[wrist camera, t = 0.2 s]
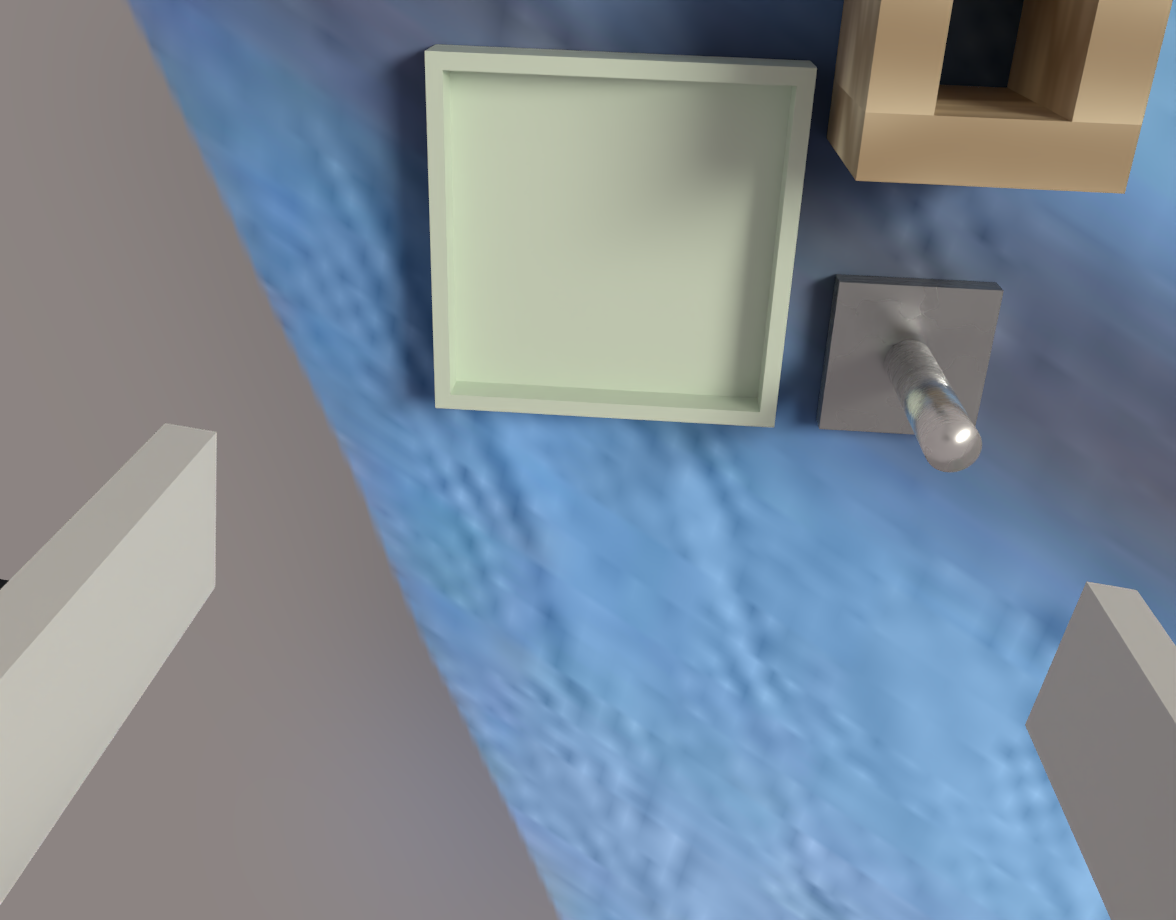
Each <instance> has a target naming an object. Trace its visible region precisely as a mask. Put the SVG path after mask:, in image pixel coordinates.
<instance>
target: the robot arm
mask: <svg viewBox="0 0 1176 920" xmlns="http://www.w3.org/2000/svg"><path fill="white" fill-rule="evenodd" d="M216 439H217V432H214V431H208V430H203V429H196V428H191V427H185V426H179V425H173V424H167V423H165V424H164V425H163V426H162V427H161V428H160V429H159V430H158V431H157V432H156V433H155V434H154V435H153V436H152V437H151V438H150V439H149V440H148V441H147V442H146V443H145V444H144V445H143V446H142V447H141V448H140V449H139V450H138V451H137V452H136V453H135V454H134V455H133V456H132V457H131V458H130V459H129V460H128V461H127V462H126V463H125V464H124V465H123V466H122V467H121V469H119V470H118V471H117V472H116V473H115V475H114V476H112V477H111V478H110V479H109V480H108V482H107V483H106V484H105V485H104V486H103V487H102V488H101V489H100V490H99V491H98V492H97V493H96V494H95V495H94V496H93V497H92V498H91V499H90V500H89V501H88V502H87V503H86V504H85V505H84V506H83V507H82V508H81V509H80V510H79V511H78V512H77V513H76V514H75V515H74V516H73V517H72V518H71V519H70V520H69V521H68V522H67V523H66V524H65V525H64V526H63V527H62V528H61V529H60V530H59V531H58V532H57V533H56V534H55V535H54V536H53V537H52V538H51V539H50V540H49V541H48V542H47V543H46V544H45V545H44V546H43V547H42V548H41V549H40V550H39V551H38V552H37V553H36V554H35V555H34V556H33V557H32V558H31V559H30V560H29V561H28V562H27V563H26V564H25V565H24V566H23V567H22V569H20V570H19V571H18V572H17V573H16V574H15V575H14V576H13V577H12V578H11V579H10V580H9V581H8V580H1V579H0V904H1V903H2V902H3V900H4V899H5V897H6V896H7V894H8V893H9V891H10V890H11V888H12V887H13V885H14V884H15V882H16V881H17V879H18V878H19V876H20V875H21V873H22V872H23V870H24V869H25V867H26V866H27V865H28V863H29V862H30V860H31V859H32V857H33V856H34V854H35V853H36V851H37V850H38V848H39V847H40V845H41V844H42V842H43V841H44V839H45V838H46V836H47V835H48V834H49V832H50V831H51V829H52V828H53V826H54V825H55V823H56V822H57V820H58V819H59V817H60V816H61V814H62V813H63V811H64V810H65V808H66V807H67V805H68V804H69V802H70V801H71V799H72V798H73V796H74V795H75V793H76V792H77V791H78V789H79V788H80V786H81V785H82V783H83V782H84V780H85V779H86V777H87V776H88V774H89V773H90V771H91V770H92V768H93V767H94V765H95V764H96V762H97V761H98V760H99V758H100V757H101V755H102V754H103V752H104V751H105V749H106V748H107V746H108V745H109V743H110V742H111V740H112V739H113V737H114V736H115V734H116V733H117V731H118V730H119V728H120V727H121V725H122V724H123V723H124V721H125V720H126V718H127V717H128V715H129V714H130V712H131V711H132V709H133V708H134V706H135V705H136V703H137V702H138V700H139V699H140V697H141V696H142V694H143V693H144V691H145V690H146V688H147V687H148V686H149V684H150V683H151V681H152V680H153V678H154V677H155V675H156V674H157V672H158V671H159V669H160V668H161V666H162V665H163V663H164V662H165V660H166V659H167V657H168V656H169V654H170V653H171V651H172V650H173V649H174V647H175V645H176V644H177V643H178V641H179V640H180V638H181V637H182V635H183V634H184V632H185V631H186V629H187V628H188V626H189V625H190V623H191V622H192V620H193V619H194V617H195V616H196V615H197V613H198V612H199V610H200V608H201V607H202V606H203V604H204V603H205V601H206V600H207V598H208V597H209V595H210V594H211V592H212V591H213V589H214V588H215V548H216V546H215V545H216V450H217V448H216V447H217V440H216ZM1025 726H1026V728H1027V730H1028V732H1029V735H1030V737H1031V739H1032V741H1033V744H1034V746H1035V748H1036V751H1037V753H1038V755H1039V757H1040V760H1041V762H1042V764H1043V766H1044V769H1045V771H1046V773H1047V775H1048V778H1049V780H1050V782H1051V785H1052V787H1053V789H1054V791H1055V794H1056V796H1057V798H1058V800H1059V803H1060V805H1061V807H1062V809H1063V812H1064V814H1065V816H1066V819H1067V821H1068V823H1069V825H1070V828H1071V830H1072V832H1073V834H1074V837H1075V839H1076V841H1077V843H1078V846H1079V848H1080V850H1081V853H1082V855H1083V857H1084V859H1085V862H1086V864H1087V866H1088V868H1089V871H1090V873H1091V875H1092V877H1093V880H1094V882H1095V884H1096V887H1097V889H1098V891H1099V893H1100V896H1101V898H1102V900H1103V902H1104V905H1105V907H1106V909H1107V911H1108V914H1109V916H1110V918H1111V920H1176V646H1175V644H1174V643H1173V642H1172V640H1171V639H1170V637H1169V636H1168V634H1167V633H1166V632H1165V630H1164V629H1163V627H1162V626H1161V624H1160V623H1159V621H1158V620H1157V619H1156V617H1155V616H1154V614H1153V613H1152V611H1151V610H1150V608H1149V607H1148V606H1147V604H1146V603H1145V601H1144V600H1143V598H1142V597H1141V596H1140V594H1139V593H1138V591H1137V590H1133V589H1127V588H1121V587H1115V586H1109V585H1103V584H1098V583H1092V582H1086V584H1085V586H1084V589H1083V591H1082V593H1081V596H1080V598H1079V600H1078V603H1077V605H1076V607H1075V610H1074V612H1073V614H1072V617H1071V619H1070V621H1069V624H1068V626H1067V628H1066V631H1065V633H1064V635H1063V638H1062V640H1061V642H1060V645H1059V647H1058V650H1057V652H1056V654H1055V657H1054V659H1053V661H1052V664H1051V666H1050V668H1049V671H1048V673H1047V675H1046V678H1045V680H1044V682H1043V685H1042V687H1041V689H1040V692H1039V694H1038V696H1037V699H1036V701H1035V703H1034V706H1033V708H1032V710H1031V713H1030V715H1029V717H1028V720H1027V722H1026V724H1025Z"/></svg>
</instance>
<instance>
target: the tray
mask: <svg viewBox="0 0 1176 920" xmlns="http://www.w3.org/2000/svg"><path fill="white" fill-rule="evenodd" d="M816 73H817V67H816V66H815V65H814V64H813V63H812V62H811V61H807V60H784V59H761V58H738V57H715V56H692V55H669V54H646V53H623V52H600V51H577V50H554V49H531V48H508V47H485V46H462V45H439V44H435V45H434V46H432V47H430V48H429V49H427V50H425V81H426V115H427V148H428V181H429V214H430V247H431V281H432V314H433V347H434V380H435V408H447V409H464V410H482V411H499V412H516V413H534V414H551V415H568V416H585V417H603V418H620V419H637V420H655V421H672V422H689V423H706V424H724V425H741V426H758V427H774V424H775V416H776V407H777V399H778V390H779V382H780V374H781V365H782V357H783V349H784V340H785V332H786V324H787V315H788V307H789V299H790V290H791V282H792V274H793V265H794V257H795V249H796V240H797V232H798V224H799V215H800V207H801V198H802V190H803V182H804V173H805V165H806V157H807V148H808V140H809V132H810V123H811V115H812V107H813V98H814V90H815V82H816Z"/></svg>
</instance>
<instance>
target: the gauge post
mask: <svg viewBox="0 0 1176 920" xmlns="http://www.w3.org/2000/svg"><path fill="white" fill-rule="evenodd" d="M1002 296H1003V290H1002V288H1001V287H1000V286H999V285H998V284H997V283H995V282H975V281H956V280H937V279H917V278H898V277H879V276H859V275H840V274H836V278H835V285H834V292H833V300H832V307H831V314H830V321H829V329H828V336H827V343H826V350H825V358H824V365H823V372H822V379H821V387H820V394H819V401H818V408H817V416H816V420H817V423H818V427H819V429H831V430H848V431H866V432H883V433H900V434H915V436H916V438H917V440H918V442H919V444H920V446H921V448H922V451H923V453H924V455H925V457H926V459H927V461H928V462H929V464H930V465H931V466H933V467H934V468H936V469H937V470H940V471H943V472H957V471H960V470H963V469H965V468H967V467H969V466H970V465H971V464H973V463H974V462H975V460H976V459H977V458H978V456H979V454H980V452H981V448H982V441H981V437H980V435H979V433H978V431H977V429H976V428H975V425H976V420H977V415H978V410H979V406H980V401H981V396H982V391H983V386H984V382H985V377H986V372H987V367H988V363H989V358H990V353H991V348H992V343H993V339H994V334H995V329H996V324H997V319H998V315H999V310H1000V305H1001V300H1002Z"/></svg>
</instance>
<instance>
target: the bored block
mask: <svg viewBox="0 0 1176 920" xmlns="http://www.w3.org/2000/svg"><path fill="white" fill-rule="evenodd" d="M1172 1H1173V0H1024V2H1023V7H1022V13H1021V18H1020V23H1019V28H1018V33H1017V38H1016V43H1015V49H1014V54H1013V59H1012V64H1011V69H1010V74H1009V80H1008V85H1007V87H986V86H964V85H941V84H939V82H940V77H941V71H942V65H943V59H944V53H945V47H946V41H947V35H948V29H949V23H950V17H951V11H952V5H953V0H844V4H843V12H842V20H841V28H840V36H839V44H838V52H837V60H836V67H835V75H834V83H833V91H832V99H831V107H830V115H829V123H828V131H827V139H828V141H829V142H830V144H831V145H832V147H833V148H834V150H835V151H836V152H837V154H838V155H839V157H840V158H841V160H842V161H843V163H844V164H845V166H846V167H847V168H848V170H849V171H850V173H851V174H852V176H853V177H854V179H855V180H856V181H874V182H895V183H916V184H936V185H957V186H978V187H999V188H1020V189H1040V190H1061V191H1082V192H1103V193H1124V194H1125V190H1126V186H1127V182H1128V178H1129V174H1130V170H1131V166H1132V162H1133V158H1134V154H1135V150H1136V146H1137V142H1138V138H1139V134H1140V130H1141V126H1142V122H1143V118H1144V114H1145V110H1146V106H1147V102H1148V98H1149V94H1150V90H1151V86H1152V82H1153V78H1154V74H1155V70H1156V66H1157V62H1158V58H1159V53H1160V49H1161V45H1162V41H1163V37H1164V33H1165V29H1166V25H1167V21H1168V17H1169V13H1170V9H1171V5H1172Z"/></svg>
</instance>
